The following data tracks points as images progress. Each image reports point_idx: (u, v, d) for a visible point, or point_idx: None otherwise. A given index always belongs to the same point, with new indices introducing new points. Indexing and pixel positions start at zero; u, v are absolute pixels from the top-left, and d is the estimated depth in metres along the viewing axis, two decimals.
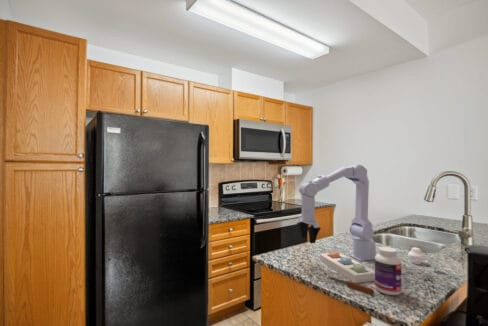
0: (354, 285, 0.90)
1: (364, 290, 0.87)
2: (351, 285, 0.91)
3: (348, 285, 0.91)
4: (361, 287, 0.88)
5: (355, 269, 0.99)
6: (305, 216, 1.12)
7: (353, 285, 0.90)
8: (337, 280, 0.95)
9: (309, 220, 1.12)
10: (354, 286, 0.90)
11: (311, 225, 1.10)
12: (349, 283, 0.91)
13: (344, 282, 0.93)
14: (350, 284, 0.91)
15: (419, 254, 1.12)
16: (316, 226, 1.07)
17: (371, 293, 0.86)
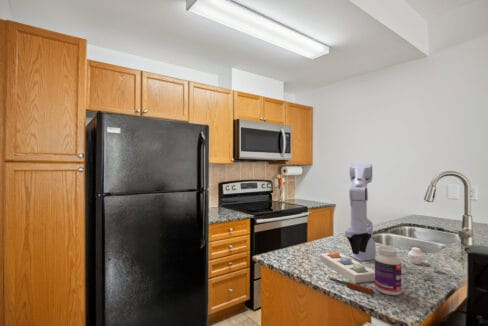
0: (354, 286, 0.90)
1: (364, 291, 0.87)
2: (351, 286, 0.90)
3: (348, 286, 0.91)
4: (361, 288, 0.88)
5: (355, 269, 0.99)
6: (351, 223, 1.01)
7: (353, 286, 0.90)
8: (337, 281, 0.94)
9: (352, 228, 0.99)
10: (354, 287, 0.90)
11: None
12: (349, 284, 0.91)
13: (344, 283, 0.93)
14: (350, 285, 0.91)
15: (419, 254, 1.12)
16: (347, 235, 0.96)
17: (371, 293, 0.86)
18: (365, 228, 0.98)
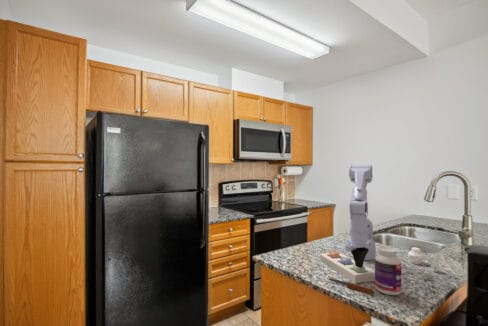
0: (354, 286, 0.89)
1: (364, 291, 0.87)
2: (351, 286, 0.90)
3: (348, 286, 0.91)
4: (361, 288, 0.88)
5: (355, 269, 0.99)
6: (351, 237, 1.01)
7: (353, 286, 0.90)
8: (336, 281, 0.94)
9: (352, 242, 0.99)
10: (354, 287, 0.89)
11: None
12: (349, 284, 0.91)
13: (344, 283, 0.92)
14: (350, 285, 0.90)
15: (419, 254, 1.12)
16: (347, 249, 0.96)
17: (371, 293, 0.86)
18: (365, 242, 0.98)
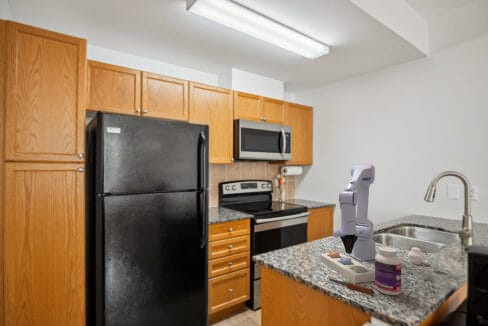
0: (354, 286, 0.89)
1: (364, 291, 0.87)
2: (351, 286, 0.90)
3: (348, 286, 0.91)
4: (361, 288, 0.88)
5: (355, 271, 0.99)
6: None
7: (353, 286, 0.90)
8: (336, 281, 0.94)
9: (341, 230, 1.06)
10: (354, 287, 0.89)
11: None
12: (349, 284, 0.91)
13: (344, 283, 0.92)
14: (350, 285, 0.90)
15: (419, 254, 1.12)
16: (334, 235, 1.04)
17: (371, 294, 0.86)
18: (353, 230, 1.04)
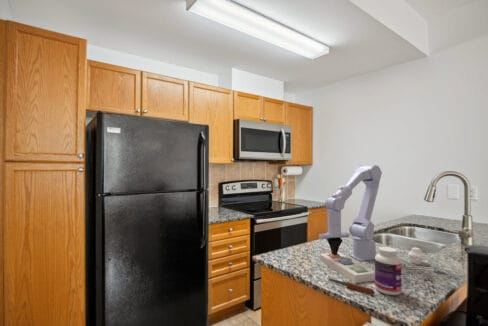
0: (354, 286, 0.89)
1: (364, 291, 0.87)
2: (351, 286, 0.90)
3: (348, 286, 0.91)
4: (361, 288, 0.88)
5: (355, 271, 0.99)
6: None
7: (353, 286, 0.89)
8: (336, 281, 0.94)
9: (327, 233, 1.16)
10: (354, 287, 0.89)
11: None
12: (349, 284, 0.90)
13: (344, 283, 0.92)
14: (350, 285, 0.90)
15: (419, 254, 1.12)
16: (319, 237, 1.14)
17: (371, 293, 0.86)
18: (338, 233, 1.13)
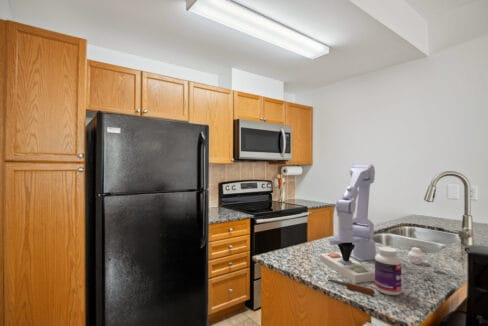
0: (354, 286, 0.89)
1: (364, 291, 0.87)
2: (351, 286, 0.89)
3: (348, 286, 0.90)
4: (361, 288, 0.88)
5: (355, 271, 0.99)
6: None
7: (353, 286, 0.89)
8: (336, 282, 0.93)
9: (338, 237, 1.08)
10: (354, 287, 0.89)
11: None
12: (349, 284, 0.90)
13: (343, 284, 0.92)
14: (350, 285, 0.90)
15: (419, 254, 1.12)
16: (330, 243, 1.06)
17: (372, 293, 0.85)
18: (350, 238, 1.05)
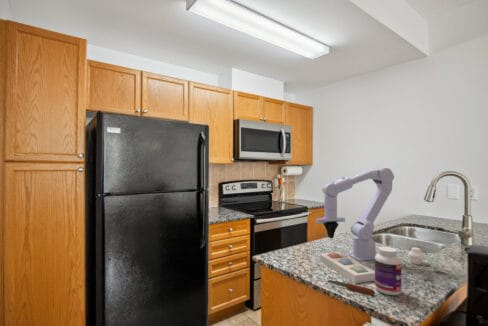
0: (354, 287, 0.89)
1: (365, 291, 0.87)
2: (351, 287, 0.89)
3: (347, 287, 0.90)
4: (361, 288, 0.87)
5: (355, 271, 0.99)
6: None
7: (353, 287, 0.89)
8: (335, 282, 0.93)
9: (324, 217, 1.22)
10: (354, 288, 0.89)
11: None
12: (348, 285, 0.90)
13: (343, 284, 0.91)
14: (350, 286, 0.89)
15: (419, 254, 1.12)
16: (317, 221, 1.20)
17: (372, 294, 0.85)
18: (334, 217, 1.19)
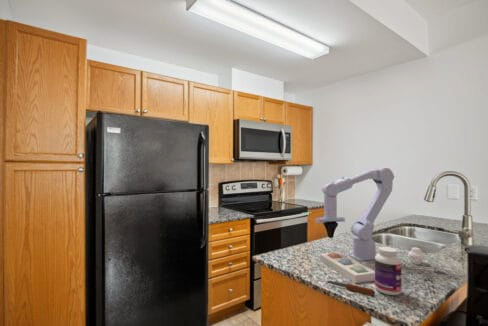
0: (354, 287, 0.88)
1: (365, 291, 0.86)
2: (351, 287, 0.89)
3: (347, 287, 0.89)
4: (361, 288, 0.87)
5: (355, 271, 0.99)
6: None
7: (353, 287, 0.88)
8: (335, 283, 0.92)
9: (324, 217, 1.22)
10: (354, 288, 0.88)
11: None
12: (348, 285, 0.89)
13: (343, 285, 0.91)
14: (350, 286, 0.89)
15: (419, 254, 1.12)
16: (316, 221, 1.20)
17: (372, 294, 0.85)
18: (333, 217, 1.19)
